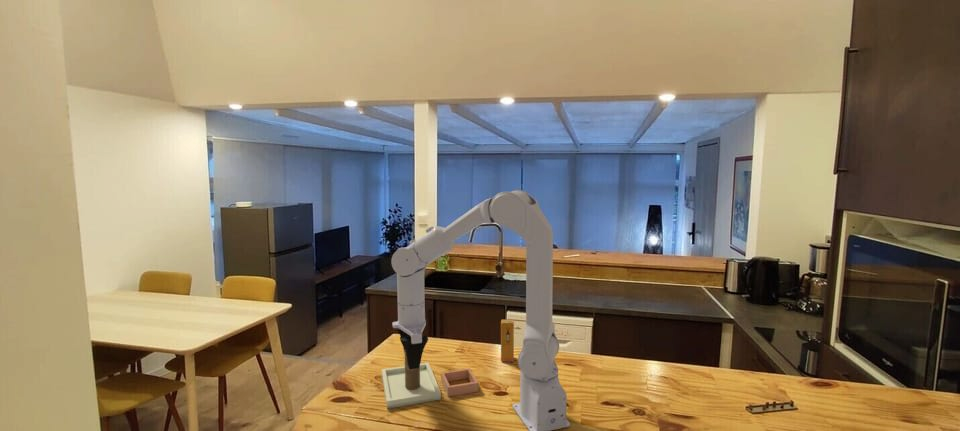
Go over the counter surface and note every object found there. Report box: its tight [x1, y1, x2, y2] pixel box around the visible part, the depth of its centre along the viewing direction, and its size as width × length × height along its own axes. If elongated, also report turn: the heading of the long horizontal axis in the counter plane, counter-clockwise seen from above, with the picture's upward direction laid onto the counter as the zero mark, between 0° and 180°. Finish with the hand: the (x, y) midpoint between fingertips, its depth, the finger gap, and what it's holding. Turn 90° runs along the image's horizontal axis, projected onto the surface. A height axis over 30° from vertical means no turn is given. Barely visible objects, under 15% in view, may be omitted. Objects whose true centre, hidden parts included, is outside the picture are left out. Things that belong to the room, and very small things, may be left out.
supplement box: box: [500, 319, 515, 363], centre depth 102 cm, size 3×3×10 cm
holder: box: [440, 368, 480, 398], centre depth 89 cm, size 7×7×2 cm
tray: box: [381, 362, 442, 410], centre depth 89 cm, size 14×11×2 cm
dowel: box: [404, 352, 420, 390], centre depth 87 cm, size 3×3×9 cm
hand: (412, 362), depth 87 cm, fingers open, 5 cm apart
